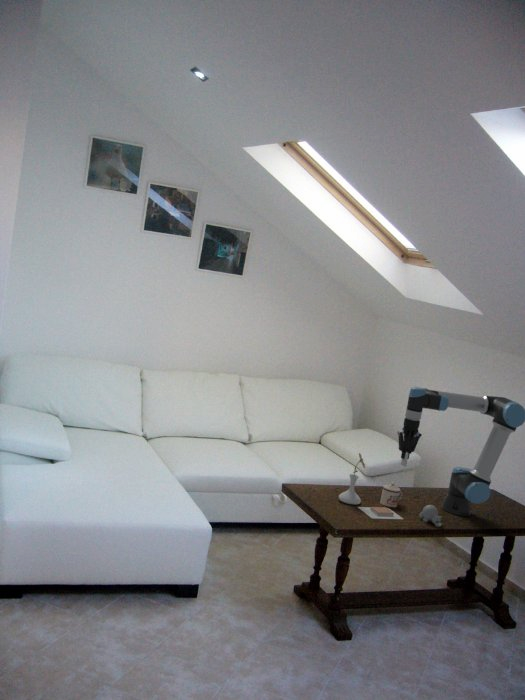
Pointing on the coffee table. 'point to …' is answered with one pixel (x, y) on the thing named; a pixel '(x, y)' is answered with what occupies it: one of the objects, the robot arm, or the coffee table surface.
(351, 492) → the flower in vase
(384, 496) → the teacup with lid
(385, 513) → the tile
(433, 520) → the chubby cartoon animal
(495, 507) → the coffee table surface
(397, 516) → the mat
